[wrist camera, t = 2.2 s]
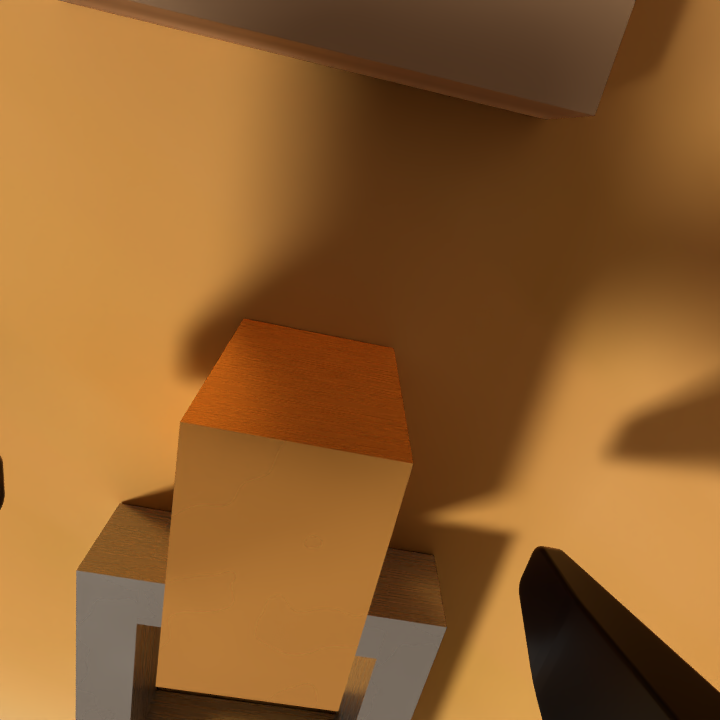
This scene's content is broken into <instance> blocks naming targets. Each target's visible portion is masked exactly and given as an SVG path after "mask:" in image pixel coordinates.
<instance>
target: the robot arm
mask: <svg viewBox="0 0 720 720" xmlns="http://www.w3.org/2000/svg"><path fill="white" fill-rule="evenodd" d="M4 497H5V490H4V473H3V461H2V458H1V456H0V509H1V507H2V505H3V502H4ZM519 596H520V603H521V609H522V616H523V622H524V629H525V635H526V642H527V648H528V655H529V661H530V668H531V673H532V679H533V684H534V688H535V692H536V697H537V701H538V705H539V709H540V712H541V716H542V720H720V692H719V691H718V690H717V689H715V688H714V687H713V686H712V685H711V684H710V683H709V682H708V681H707V680H705V679H704V678H703V677H702V676H701V675H700V674H699V673H698V672H697V671H695V670H694V669H693V668H692V667H691V666H690V665H689V664H688V663H687V662H685V661H684V660H683V659H682V658H681V657H680V656H679V655H678V654H677V653H675V652H674V651H673V650H672V649H671V648H670V647H669V646H668V645H667V644H665V643H664V642H663V641H662V640H661V639H660V638H659V637H658V636H657V635H655V634H654V633H653V632H652V631H651V630H650V629H649V628H648V627H647V626H645V625H644V624H643V623H642V622H641V621H640V620H639V619H638V618H637V617H635V616H634V615H633V614H632V613H631V612H630V611H629V610H628V609H627V608H625V607H624V606H623V605H622V604H621V603H620V602H619V601H618V600H617V599H615V598H614V597H613V596H612V595H611V594H610V593H609V592H608V591H607V590H605V589H604V588H603V587H602V586H601V585H600V584H599V583H598V582H597V581H595V580H594V579H593V578H592V577H591V576H590V575H589V574H588V573H587V572H585V571H584V570H583V569H582V568H581V567H580V566H579V565H578V564H577V563H575V562H574V561H573V560H572V559H571V558H570V557H569V556H568V555H567V554H565V553H564V552H563V551H562V550H560V549H556V548H550V547H544V546H539V547H537V548H535V549H534V551H533V553H532V555H531V557H530V560H529V562H528V564H527V566H526V569H525V571H524V573H523V575H522V577H521V580H520V584H519Z"/></svg>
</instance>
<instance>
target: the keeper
mask: <svg viewBox="0 0 720 720" xmlns="http://www.w3.org/2000/svg"><path fill="white" fill-rule="evenodd" d="M60 1H64V2H68V3H72V4H76V5H80V6H84V7H89V8H93V9H97V10H101V11H105V12H109V13H113V14H117V15H121V16H125V17H129V18H133V19H138V20H142V21H146V22H150V23H154V24H158V25H162V26H166V27H170V28H174V29H178V30H182V31H186V32H191V33H195V34H199V35H203V36H207V37H211V38H215V39H219V40H223V41H227V42H231V43H235V44H240V45H244V46H248V47H252V48H256V49H260V50H264V51H268V52H272V53H276V54H280V55H284V56H289V57H293V58H297V59H301V60H305V61H309V62H313V63H317V64H321V65H325V66H329V67H333V68H338V69H342V70H346V71H350V72H354V73H358V74H362V75H366V76H370V77H374V78H378V79H382V80H386V81H391V82H395V83H399V84H403V85H407V86H411V87H415V88H419V89H423V90H427V91H431V92H435V93H440V94H444V95H448V96H452V97H456V98H460V99H464V100H468V101H472V102H476V103H480V104H484V105H489V106H493V107H497V108H501V109H505V110H509V111H513V112H517V113H521V114H525V115H529V116H533V117H538V118H542V119H558V118H571V117H584V116H595V113H596V111H597V108H598V105H599V102H600V99H601V97H602V94H603V91H604V88H605V85H606V82H607V80H608V77H609V74H610V71H611V68H612V66H613V63H614V60H615V57H616V54H617V51H618V49H619V46H620V43H621V40H622V37H623V35H624V32H625V29H626V26H627V23H628V21H629V18H630V15H631V12H632V9H633V6H634V4H635V1H636V0H60Z"/></svg>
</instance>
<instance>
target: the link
mask: <svg viewBox="0 0 720 720" xmlns="http://www.w3.org/2000/svg"><path fill="white" fill-rule="evenodd" d="M412 467H413V459H412V453H411V447H410V441H409V435H408V429H407V423H406V418H405V412H404V406H403V400H402V394H401V388H400V382H399V376H398V370H397V365H396V359H395V353H394V348H389V347H384V346H379V345H374V344H369V343H364V342H359V341H354V340H349V339H344V338H339V337H334V336H329V335H324V334H319V333H314V332H309V331H304V330H299V329H294V328H289V327H284V326H279V325H274V324H269V323H264V322H259V321H254V320H249V319H243V321H242V322H241V324H240V325H239V327H238V329H237V330H236V332H235V334H234V335H233V337H232V338H231V340H230V342H229V343H228V345H227V347H226V348H225V350H224V351H223V353H222V355H221V356H220V358H219V360H218V361H217V363H216V364H215V366H214V368H213V369H212V371H211V373H210V374H209V376H208V377H207V379H206V381H205V382H204V384H203V386H202V387H201V389H200V390H199V392H198V394H197V395H196V397H195V399H194V400H193V402H192V403H191V405H190V407H189V408H188V410H187V412H186V413H185V415H184V416H183V418H182V420H181V421H180V429H179V440H178V451H177V462H176V472H175V483H174V494H173V505H172V512H168V511H162V510H156V509H150V508H144V507H138V506H132V505H126V504H119V505H118V507H117V508H116V510H115V512H114V513H113V515H112V516H111V518H110V519H109V521H108V522H107V524H106V526H105V527H104V529H103V530H102V532H101V533H100V535H99V536H98V538H97V540H96V541H95V543H94V544H93V546H92V547H91V549H90V550H89V552H88V554H87V555H86V557H85V558H84V560H83V561H82V563H81V564H80V566H79V567H78V569H77V579H76V720H411V718H412V715H413V713H414V710H415V708H416V705H417V703H418V700H419V698H420V695H421V692H422V690H423V687H424V685H425V682H426V680H427V677H428V674H429V672H430V669H431V667H432V664H433V662H434V659H435V657H436V654H437V651H438V649H439V646H440V644H441V641H442V639H443V636H444V633H445V631H446V628H447V625H446V620H445V614H444V609H443V603H442V598H441V592H440V587H439V581H438V576H437V570H436V565H435V559H434V555H428V554H422V553H416V552H410V551H404V550H398V549H392V548H388V546H389V542H390V539H391V536H392V532H393V529H394V526H395V523H396V519H397V516H398V513H399V509H400V506H401V503H402V499H403V496H404V493H405V490H406V486H407V483H408V480H409V476H410V473H411V470H412ZM156 687H163V688H170V689H177V690H185V691H192V692H199V693H207V694H214V695H221V696H229V697H236V698H243V699H251V700H258V701H265V702H273V703H280V704H287V705H295V706H302V707H309V708H317V709H324V710H331V711H336V712H335V714H329V713H321V712H314V711H307V710H299V709H292V708H284V707H277V706H270V705H262V704H255V703H248V702H240V701H233V700H226V699H218V698H211V697H203V696H196V695H189V694H181V693H174V692H167V691H159V690H156Z"/></svg>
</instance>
